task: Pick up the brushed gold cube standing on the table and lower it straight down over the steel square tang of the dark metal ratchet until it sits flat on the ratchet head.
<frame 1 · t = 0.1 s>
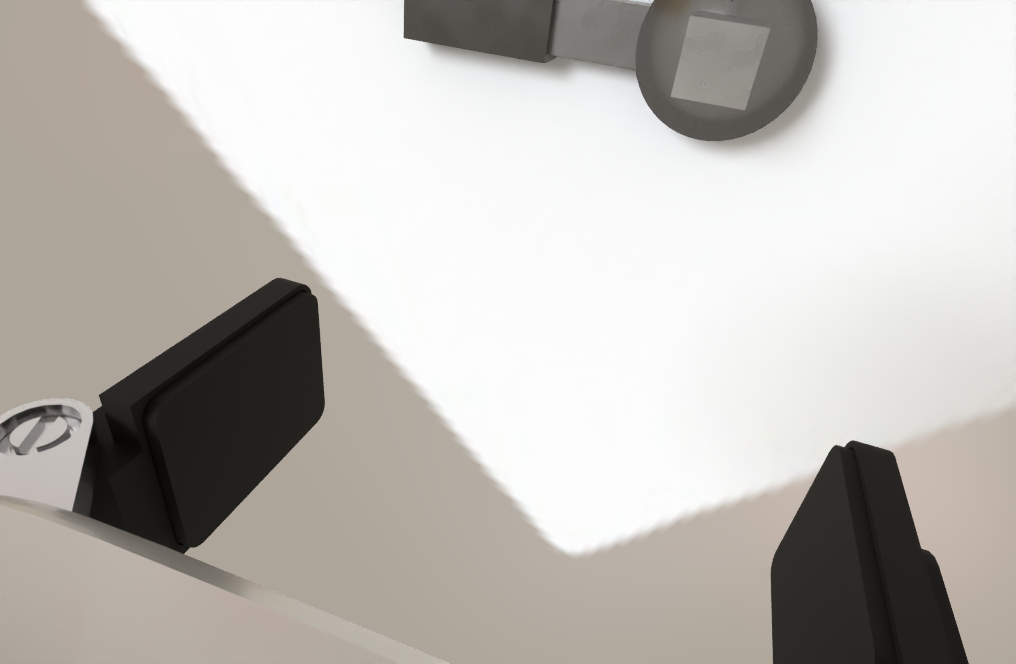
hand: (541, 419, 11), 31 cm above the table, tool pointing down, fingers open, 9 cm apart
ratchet: (723, 48, 34), on the table
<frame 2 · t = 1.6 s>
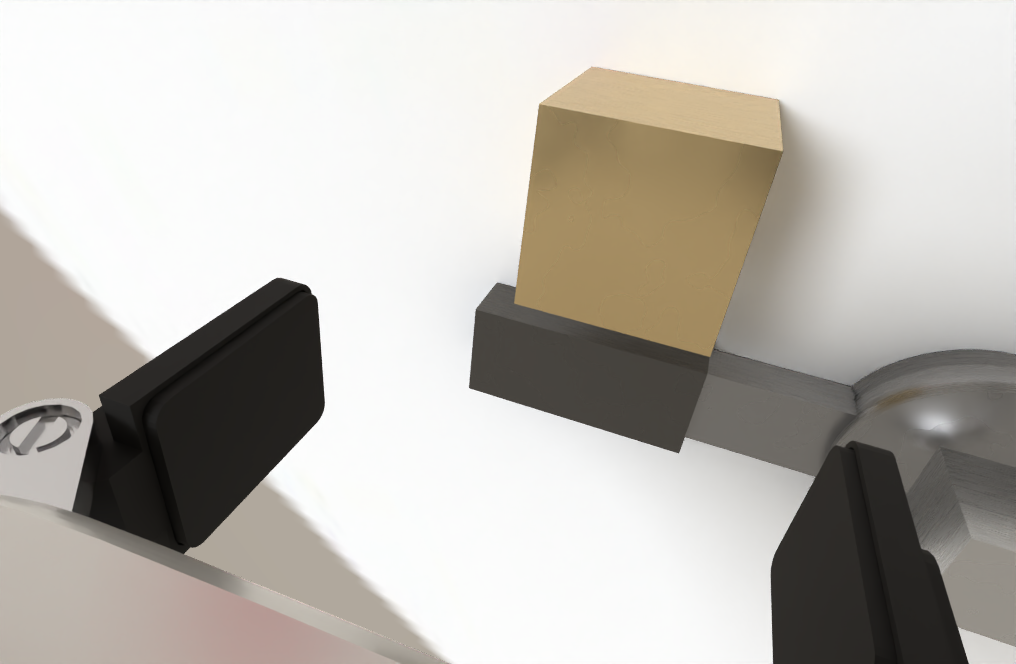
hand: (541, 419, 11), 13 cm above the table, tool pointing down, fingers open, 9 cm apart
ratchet: (952, 451, 23), on the table
brushed gold cube: (659, 172, 22), on the table
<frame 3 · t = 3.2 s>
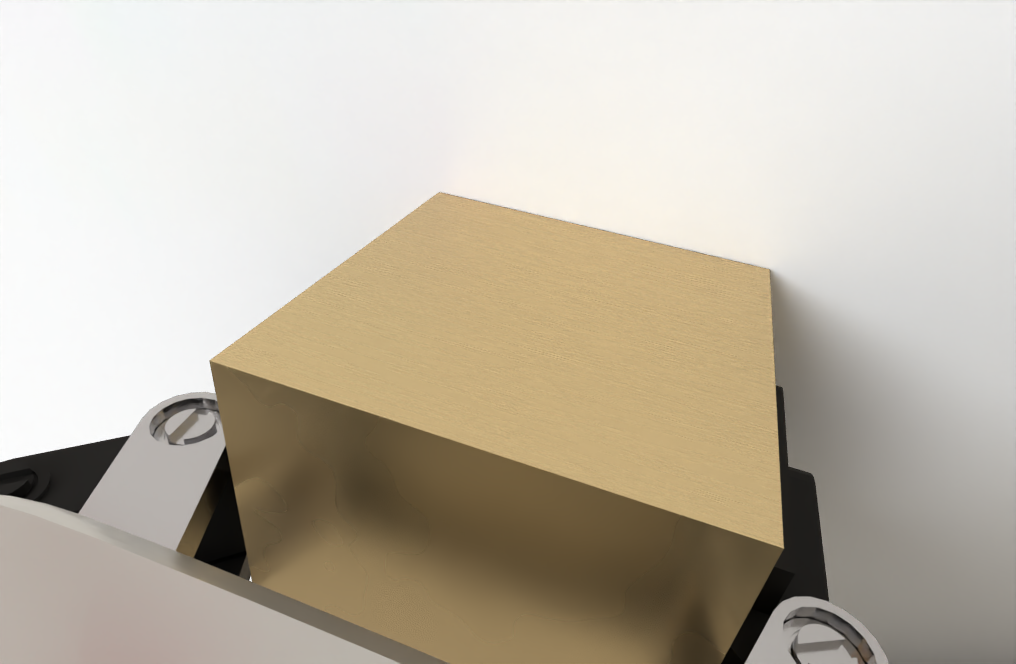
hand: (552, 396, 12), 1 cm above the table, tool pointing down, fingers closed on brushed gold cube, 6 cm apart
brushed gold cube: (567, 364, 13), on the table, touching gripper
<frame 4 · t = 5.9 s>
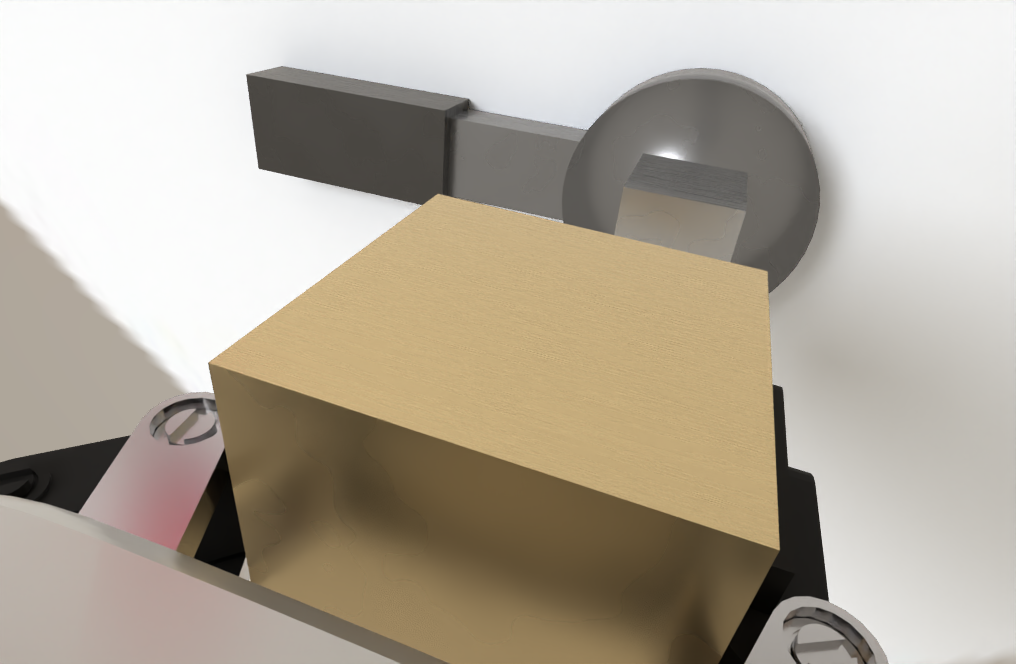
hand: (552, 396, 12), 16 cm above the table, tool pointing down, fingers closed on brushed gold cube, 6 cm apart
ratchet: (687, 190, 24), on the table
brushed gold cube: (565, 366, 13), point 15 cm above the table, touching gripper
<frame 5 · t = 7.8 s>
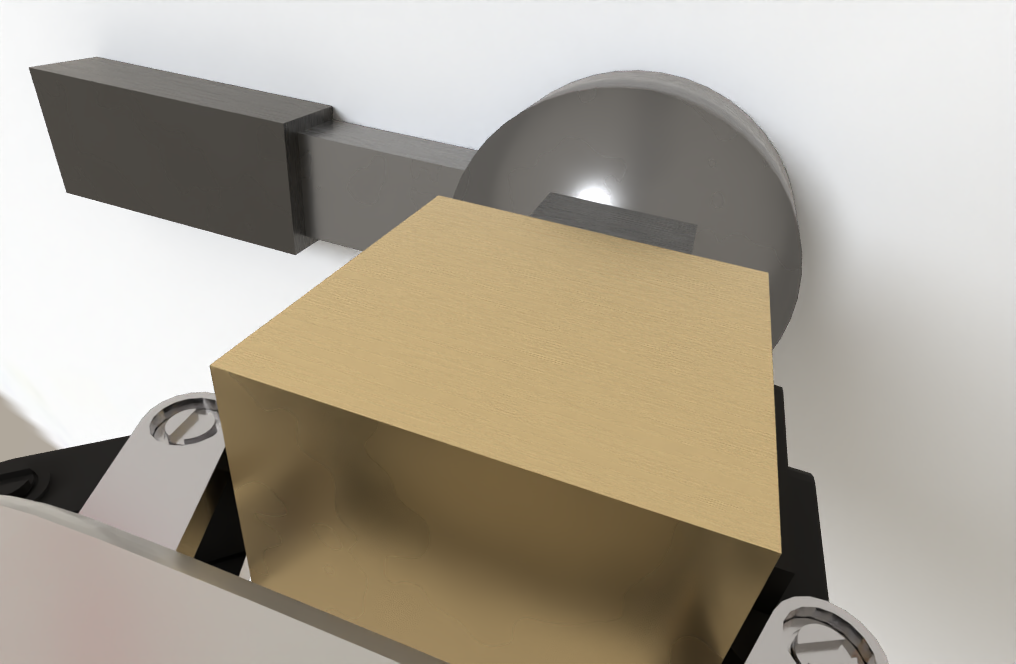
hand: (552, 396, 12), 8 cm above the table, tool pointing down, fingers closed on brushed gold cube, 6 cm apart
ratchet: (624, 237, 18), on the table
brushed gold cube: (566, 367, 13), point 7 cm above the table, touching gripper
when the fingers open (4 cm above the table, at t = 9.0 s): brushed gold cube stays where it is, resting on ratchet.
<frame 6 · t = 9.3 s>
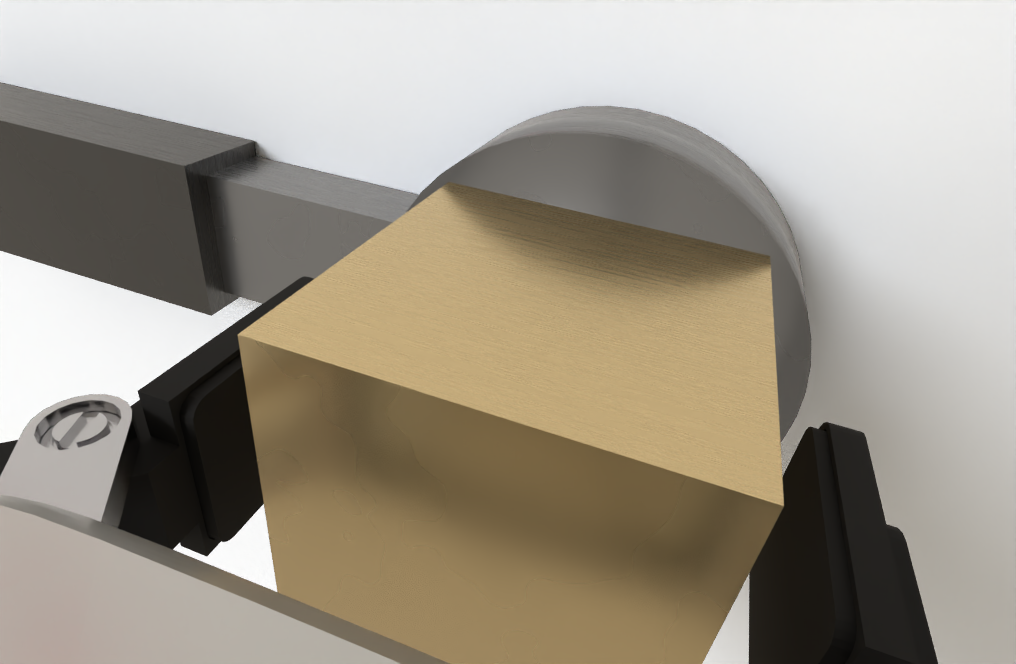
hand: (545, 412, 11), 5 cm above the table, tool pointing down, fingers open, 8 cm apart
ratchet: (597, 300, 15), on the table
brushed gold cube: (572, 350, 13), point 2 cm above the table, touching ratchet
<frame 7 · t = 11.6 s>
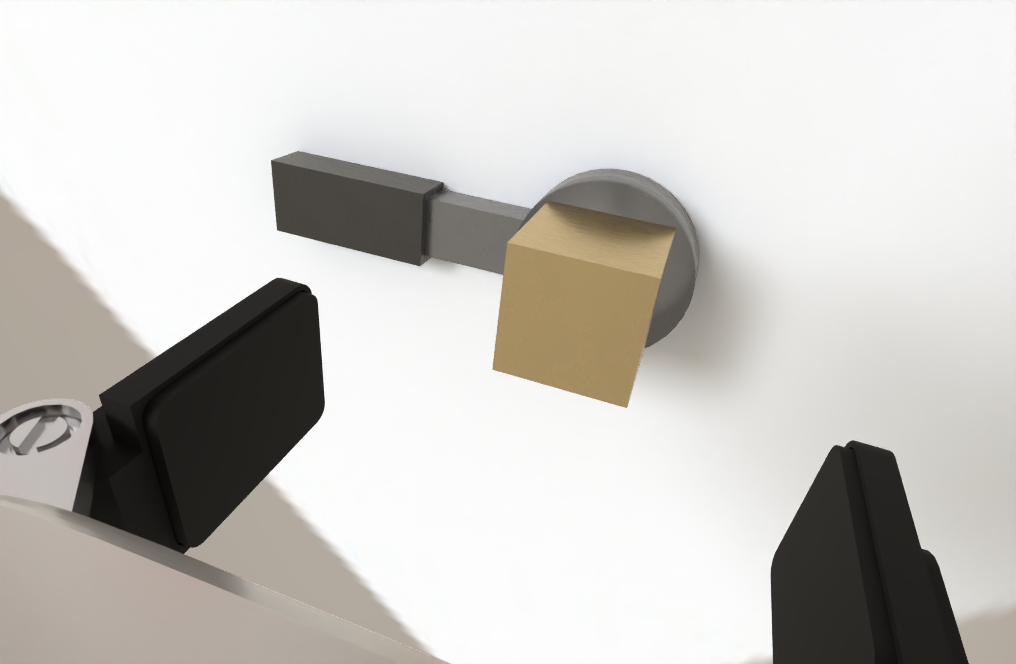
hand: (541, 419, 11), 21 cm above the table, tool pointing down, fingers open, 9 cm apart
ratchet: (608, 256, 32), on the table
brushed gold cube: (598, 272, 30), point 2 cm above the table, touching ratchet
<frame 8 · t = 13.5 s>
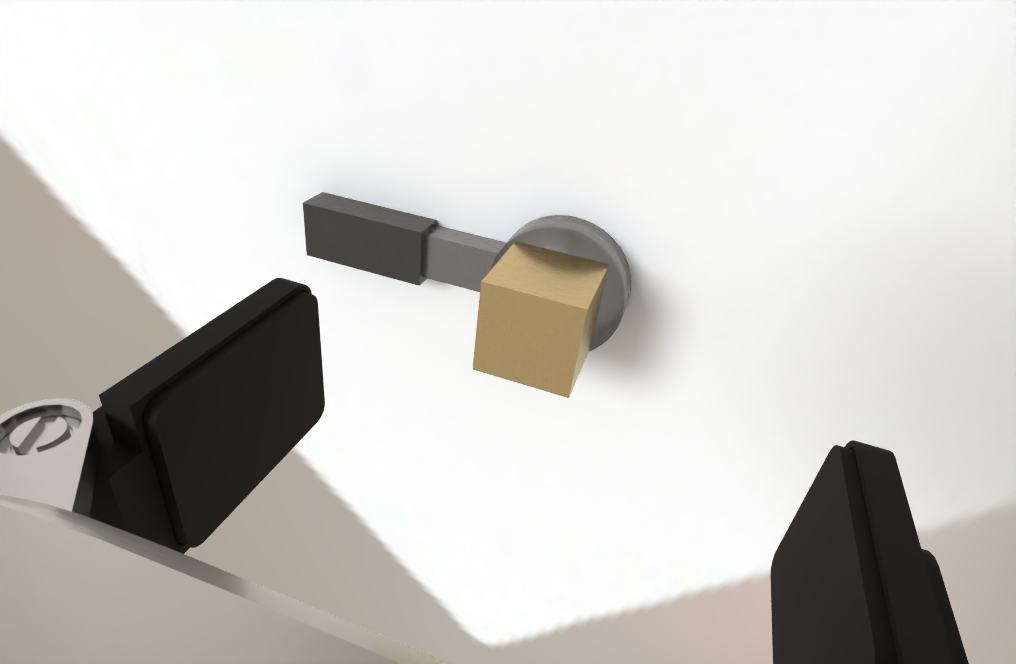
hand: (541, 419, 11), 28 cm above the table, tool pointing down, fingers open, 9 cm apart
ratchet: (563, 279, 42), on the table
brushed gold cube: (554, 294, 40), point 2 cm above the table, touching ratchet
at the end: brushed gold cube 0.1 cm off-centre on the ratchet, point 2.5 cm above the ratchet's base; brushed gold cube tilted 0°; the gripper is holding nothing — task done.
